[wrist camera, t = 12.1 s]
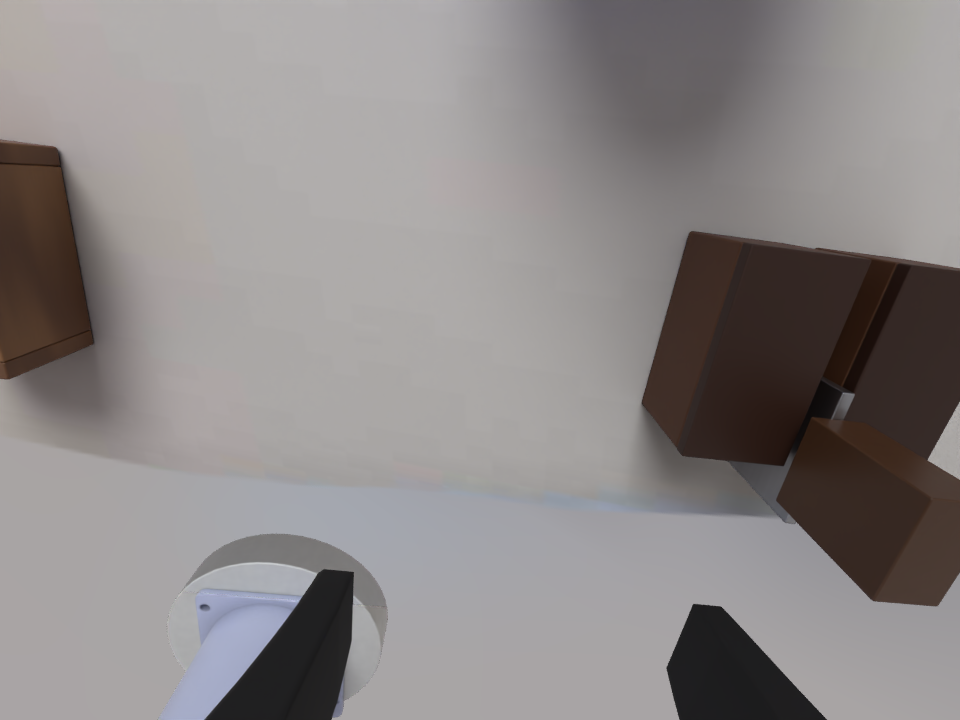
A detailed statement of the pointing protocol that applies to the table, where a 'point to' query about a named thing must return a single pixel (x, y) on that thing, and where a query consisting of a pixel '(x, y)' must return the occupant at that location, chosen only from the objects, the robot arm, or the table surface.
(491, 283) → the table surface
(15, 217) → the knife block
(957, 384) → the split wooden block
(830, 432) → the brown and grey piece
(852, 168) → the table surface
